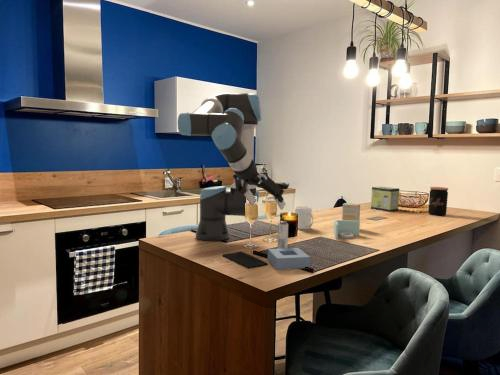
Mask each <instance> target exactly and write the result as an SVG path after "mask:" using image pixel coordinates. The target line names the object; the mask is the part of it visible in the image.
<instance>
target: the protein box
mask: <svg viewBox="0 0 500 375" xmlns="http://www.w3.org/2000/svg"><path fill="white" fill-rule="evenodd" d="M370 199H371V200H370V209H371V210H375V209H376V210H377V211H381V210H382V211H383V212H387V213H392V212H398V211H399V204H400V203H399V202H400V188H398V187H397V188H395V187H386V186H372V187H371V197H370ZM397 210H398V211H397Z"/></svg>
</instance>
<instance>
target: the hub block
mask: <svg viewBox="0 0 500 375" xmlns="http://www.w3.org/2000/svg"><path fill="white" fill-rule="evenodd" d="M267 261H268V262H269V263H270V264H271V265H272V267H274V269H276V270H295V269H296V270H297V269H306V268H305V267H309V268H310V265H311V256H309V255H308V254H307V253H305V252H304V251H303V250H302V249H300V248H299V247H287V248H281V249H277V248H268V249H267Z"/></svg>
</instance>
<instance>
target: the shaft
mask: <svg viewBox="0 0 500 375" xmlns="http://www.w3.org/2000/svg"><path fill="white" fill-rule="evenodd" d="M287 222H288V221H286V220H285V221H284V220H281V221H279V222H278V223H277V245H276V246H277V247H276V249H281V248H288V243H289V239H288V238H289V223H287Z"/></svg>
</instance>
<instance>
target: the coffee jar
mask: <svg viewBox="0 0 500 375" xmlns="http://www.w3.org/2000/svg"><path fill="white" fill-rule="evenodd" d="M429 189H430V191H429V197H428V198H429V199H428V215H430V216H434V215H435V216H436V217H445V216H446V215H447V208H448V207H447V206H448V198H449V192H448V190H449V188H448V187H443V186H430V187H429ZM435 216H434V217H435Z"/></svg>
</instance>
